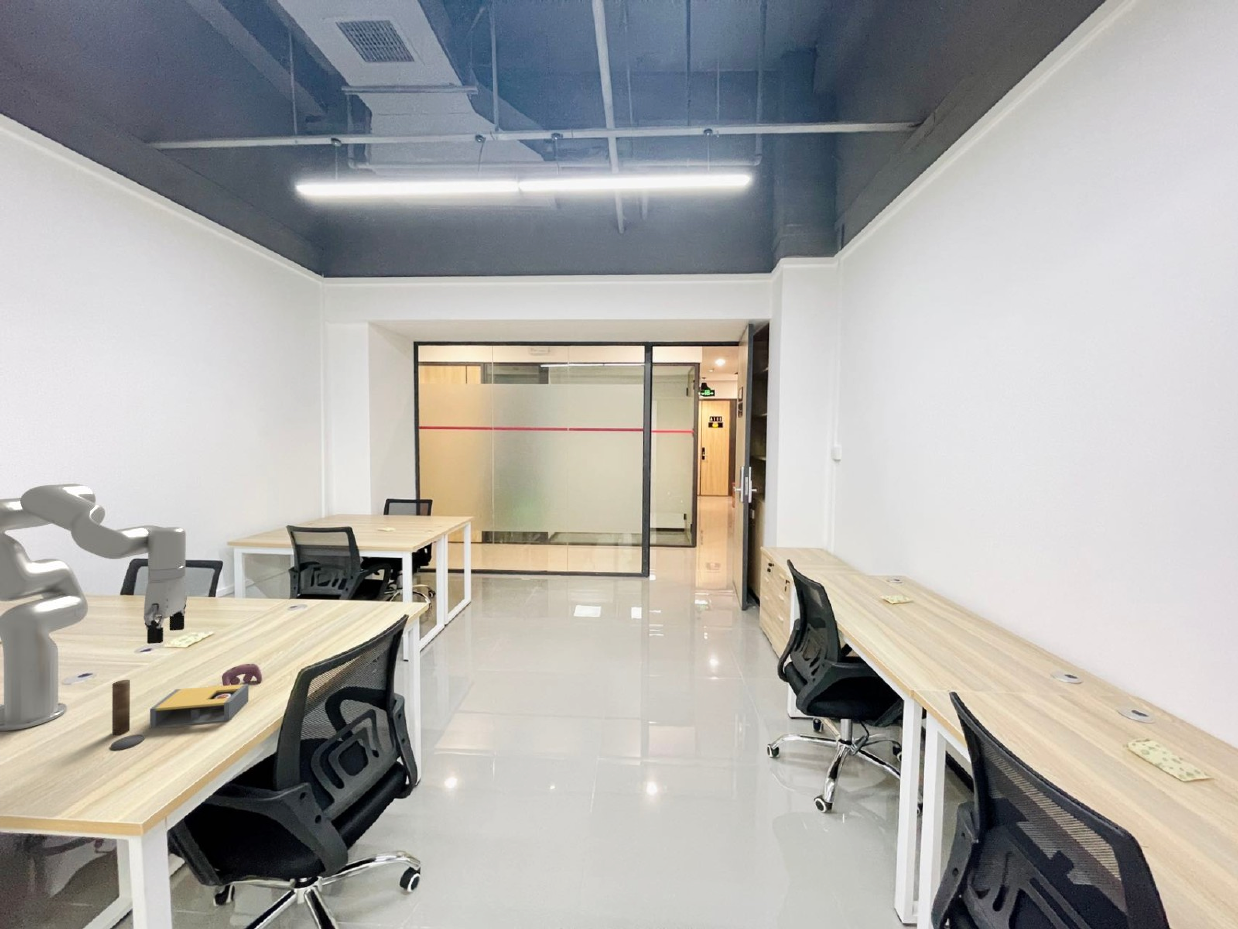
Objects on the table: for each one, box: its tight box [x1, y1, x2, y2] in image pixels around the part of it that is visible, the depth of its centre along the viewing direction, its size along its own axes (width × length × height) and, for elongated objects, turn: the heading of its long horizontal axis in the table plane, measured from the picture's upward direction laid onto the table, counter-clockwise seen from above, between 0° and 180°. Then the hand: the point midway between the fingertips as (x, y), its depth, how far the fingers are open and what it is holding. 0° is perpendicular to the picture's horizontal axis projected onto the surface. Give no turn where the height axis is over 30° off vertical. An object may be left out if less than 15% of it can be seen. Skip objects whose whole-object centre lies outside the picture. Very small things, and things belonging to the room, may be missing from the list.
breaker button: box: [215, 694, 231, 699], centre depth 140 cm, size 4×4×2 cm
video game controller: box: [221, 663, 263, 686], centre depth 157 cm, size 10×5×7 cm, turn 141°
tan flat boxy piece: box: [149, 683, 249, 729], centre depth 139 cm, size 18×11×5 cm, turn 104°
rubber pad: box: [110, 734, 145, 751], centre depth 125 cm, size 6×6×1 cm
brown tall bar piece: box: [111, 679, 131, 736], centre depth 130 cm, size 3×3×13 cm
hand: (166, 636), depth 136 cm, fingers open, 9 cm apart
